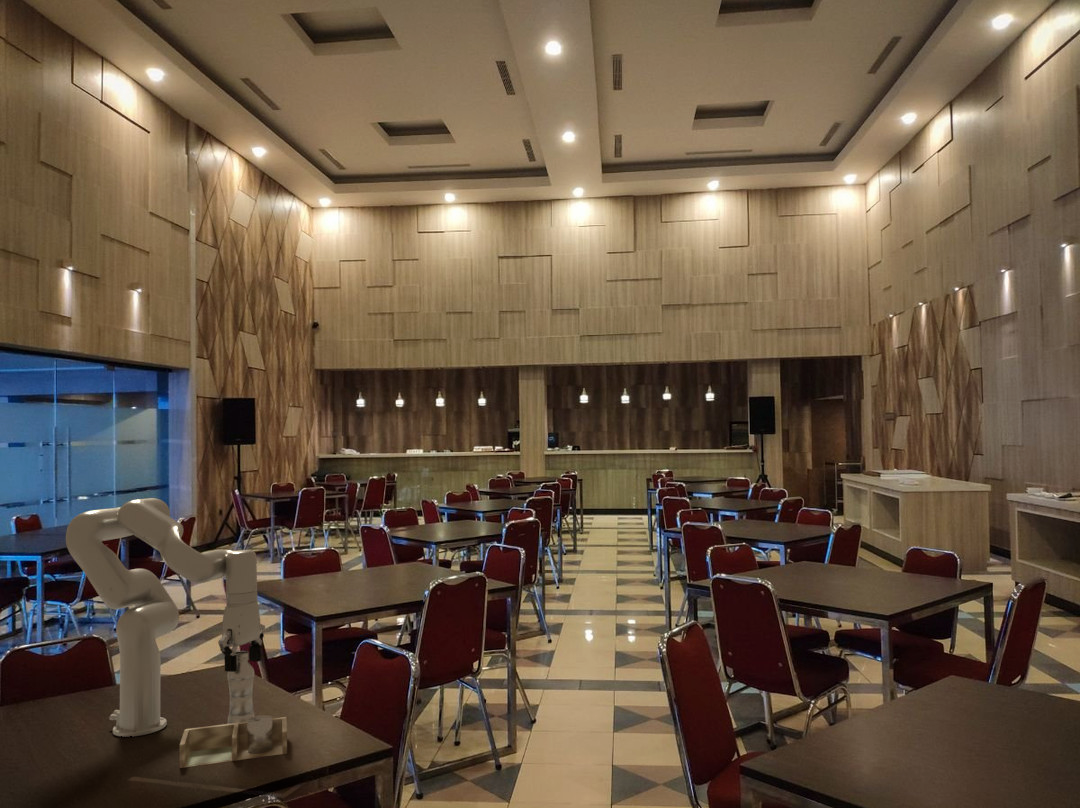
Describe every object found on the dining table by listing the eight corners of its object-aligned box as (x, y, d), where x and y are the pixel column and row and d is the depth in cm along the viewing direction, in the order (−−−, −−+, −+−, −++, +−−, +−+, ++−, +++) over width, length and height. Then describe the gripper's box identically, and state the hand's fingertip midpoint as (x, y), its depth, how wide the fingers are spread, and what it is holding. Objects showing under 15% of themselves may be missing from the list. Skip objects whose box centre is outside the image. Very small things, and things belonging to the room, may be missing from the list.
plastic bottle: (246, 737, 199) (246, 656, 200) (221, 735, 200) (222, 655, 201) (260, 728, 205) (260, 649, 206) (236, 727, 206) (236, 649, 208)
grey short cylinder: (242, 752, 186) (242, 722, 187) (257, 744, 191) (257, 714, 192) (263, 754, 184) (262, 723, 185) (277, 745, 190) (277, 715, 190)
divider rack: (179, 771, 178) (179, 744, 178) (184, 754, 188) (184, 729, 189) (286, 756, 185) (286, 731, 185) (286, 740, 195) (286, 716, 196)
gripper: (250, 592, 214) (252, 657, 213) (206, 605, 197) (208, 675, 196) (274, 592, 212) (276, 657, 211) (232, 605, 195) (233, 676, 194)
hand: (243, 666), depth 204 cm, fingers open, 9 cm apart
